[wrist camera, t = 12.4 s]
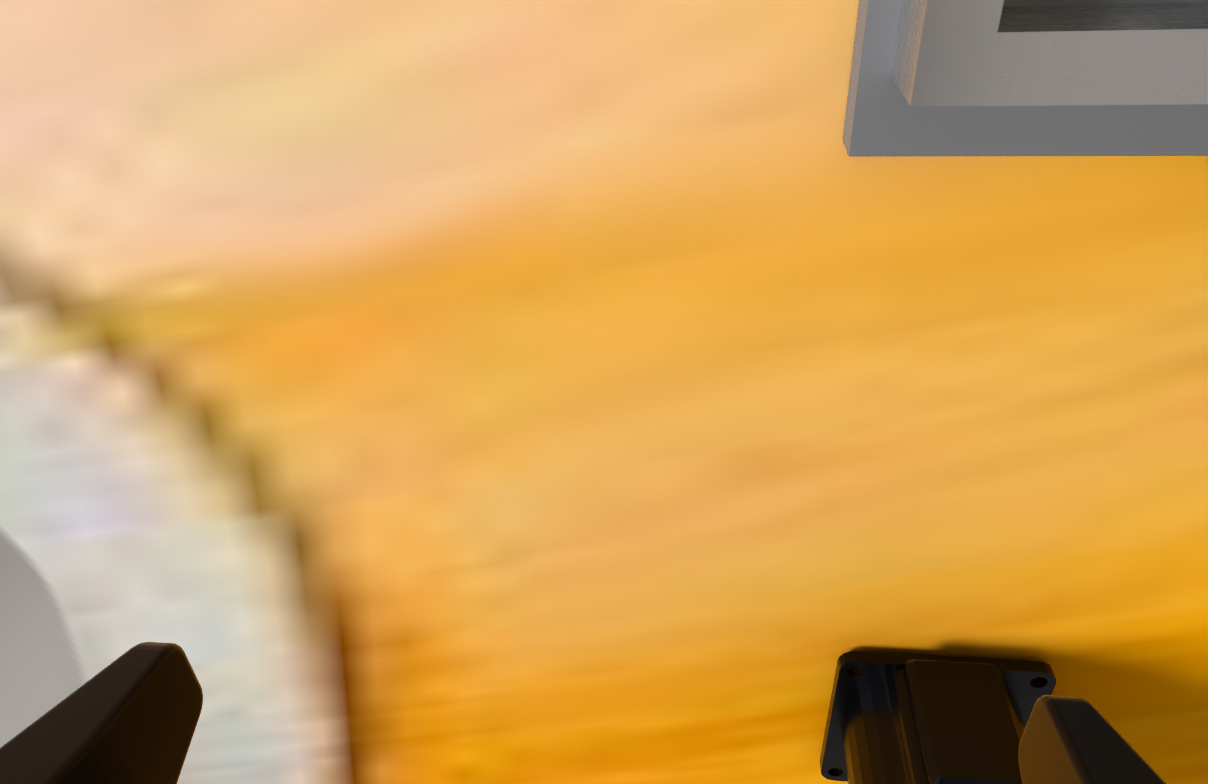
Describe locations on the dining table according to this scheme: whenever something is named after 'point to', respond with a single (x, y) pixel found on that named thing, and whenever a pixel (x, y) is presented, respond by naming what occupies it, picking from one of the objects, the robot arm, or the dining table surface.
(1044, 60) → the socket
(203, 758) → the dining table surface
